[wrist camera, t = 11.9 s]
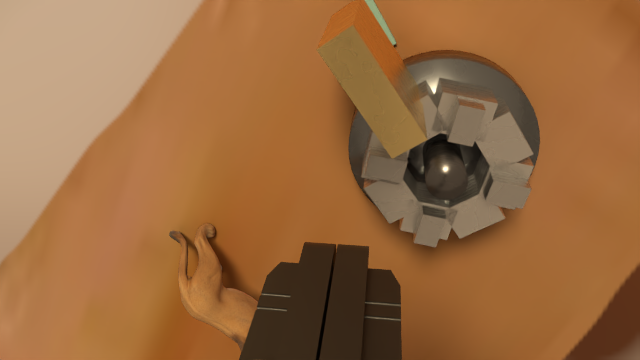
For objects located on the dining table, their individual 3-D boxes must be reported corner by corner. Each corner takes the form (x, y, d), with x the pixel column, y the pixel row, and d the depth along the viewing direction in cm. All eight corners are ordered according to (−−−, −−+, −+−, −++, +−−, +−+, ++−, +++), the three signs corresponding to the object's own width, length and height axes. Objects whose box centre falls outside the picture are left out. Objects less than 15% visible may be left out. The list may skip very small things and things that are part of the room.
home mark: (396, 42, 32) (396, 43, 32) (381, 49, 32) (382, 51, 32) (368, -11, 31) (367, -10, 31) (353, -2, 31) (353, -1, 31)
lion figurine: (341, 293, 43) (330, 383, 35) (309, 329, 46) (292, 420, 38) (184, 206, 41) (135, 283, 33) (160, 250, 43) (109, 330, 35)
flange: (540, 195, 36) (565, 247, 31) (374, 224, 39) (371, 276, 34) (521, 28, 31) (547, 57, 26) (330, 76, 34) (318, 111, 29)
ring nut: (546, 175, 33) (580, 240, 27) (414, 236, 36) (418, 306, 30) (421, -47, 27) (429, -27, 21) (280, 51, 31) (253, 92, 25)
